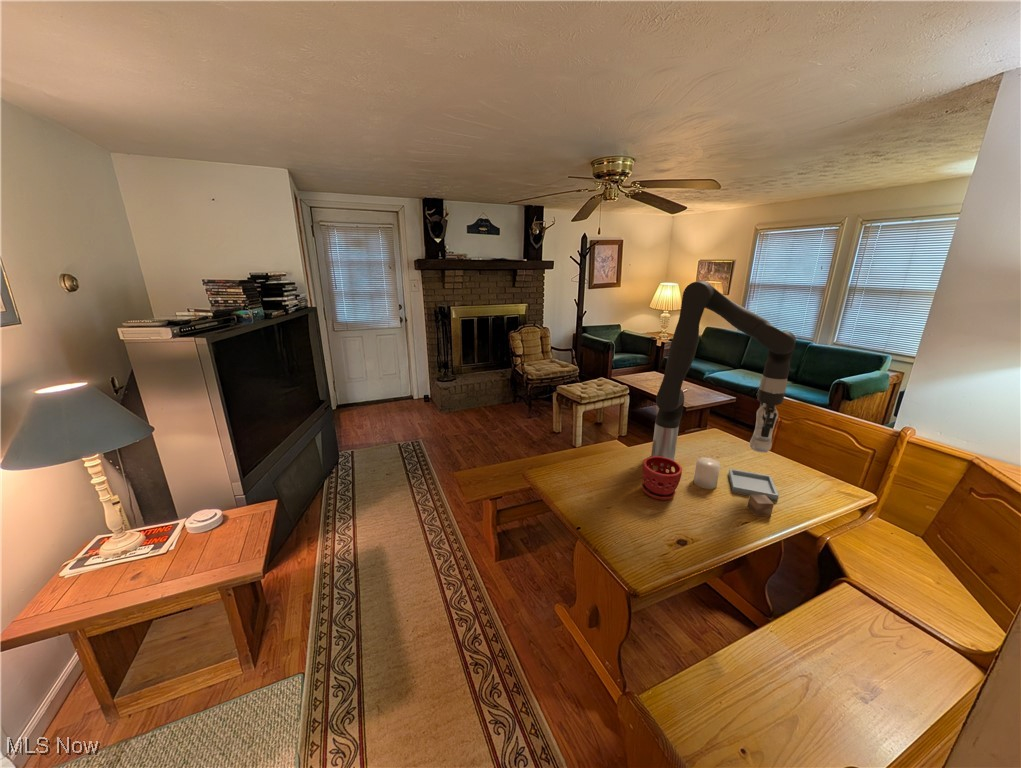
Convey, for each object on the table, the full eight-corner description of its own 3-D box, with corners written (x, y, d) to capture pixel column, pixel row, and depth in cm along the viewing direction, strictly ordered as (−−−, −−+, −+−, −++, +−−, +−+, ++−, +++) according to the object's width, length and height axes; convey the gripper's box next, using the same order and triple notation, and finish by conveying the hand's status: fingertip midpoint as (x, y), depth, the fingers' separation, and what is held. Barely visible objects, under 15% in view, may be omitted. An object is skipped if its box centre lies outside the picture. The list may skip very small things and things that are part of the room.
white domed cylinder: (693, 486, 142) (697, 465, 140) (693, 475, 149) (696, 455, 147) (717, 490, 139) (721, 469, 137) (715, 480, 146) (719, 459, 143)
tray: (732, 492, 138) (733, 486, 137) (728, 473, 150) (729, 468, 150) (777, 501, 133) (778, 495, 132) (769, 481, 145) (770, 475, 144)
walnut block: (755, 515, 126) (758, 503, 124) (747, 506, 130) (749, 494, 129) (770, 516, 125) (773, 503, 124) (762, 507, 130) (765, 494, 128)
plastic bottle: (744, 446, 140) (754, 396, 134) (761, 446, 140) (772, 396, 134) (756, 455, 134) (768, 403, 127) (774, 454, 134) (786, 402, 128)
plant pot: (634, 494, 138) (637, 465, 134) (649, 479, 147) (652, 452, 143) (669, 508, 130) (674, 478, 126) (683, 492, 139) (687, 463, 135)
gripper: (756, 382, 137) (747, 423, 142) (763, 394, 125) (753, 439, 130) (780, 384, 134) (770, 427, 140) (790, 396, 122) (779, 443, 127)
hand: (762, 432), depth 135 cm, fingers closed on plastic bottle, 6 cm apart
